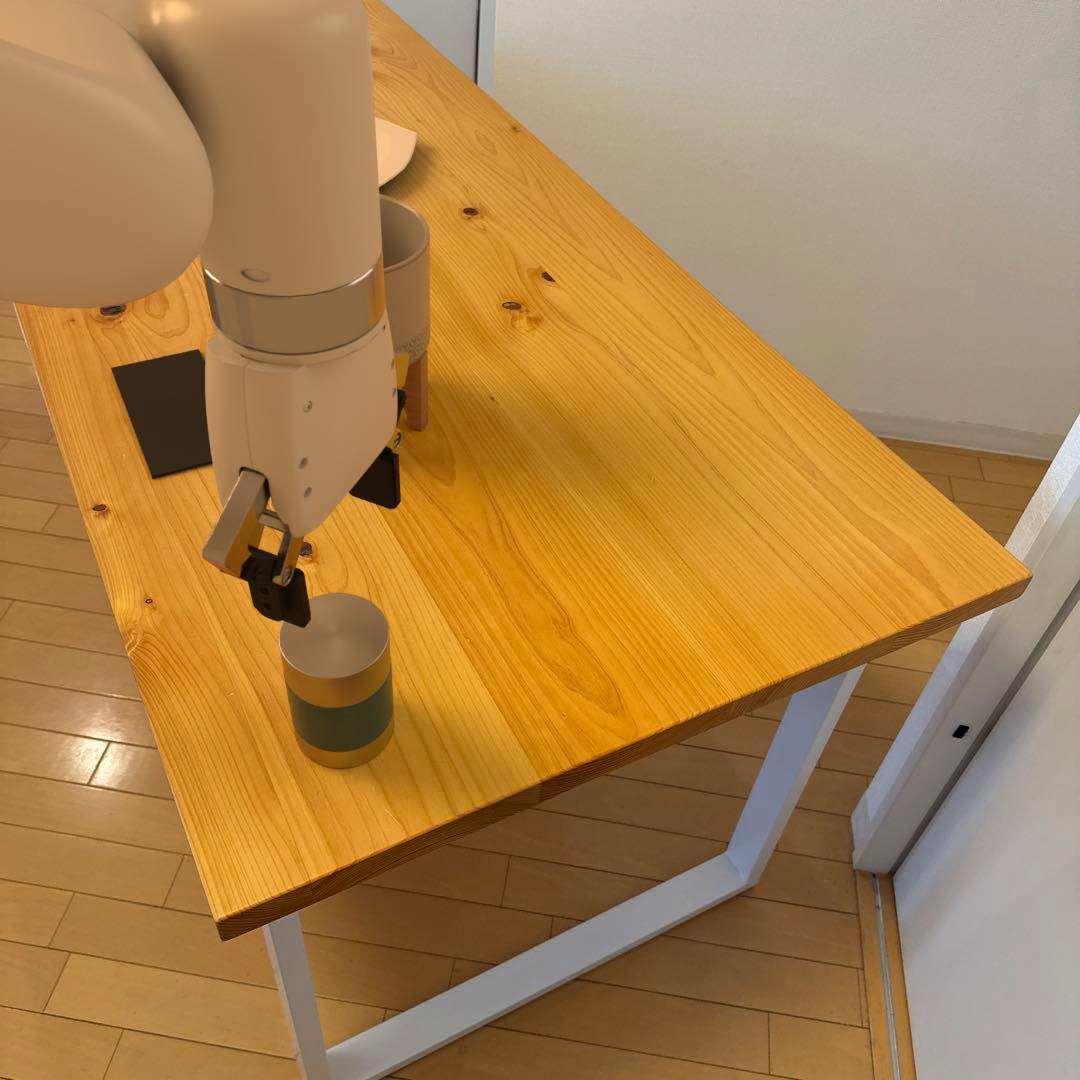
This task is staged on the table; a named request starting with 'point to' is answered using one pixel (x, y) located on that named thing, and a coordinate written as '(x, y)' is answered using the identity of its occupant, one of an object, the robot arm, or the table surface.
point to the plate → (392, 149)
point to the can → (339, 680)
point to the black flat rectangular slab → (168, 410)
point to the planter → (408, 297)
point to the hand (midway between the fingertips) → (331, 554)
